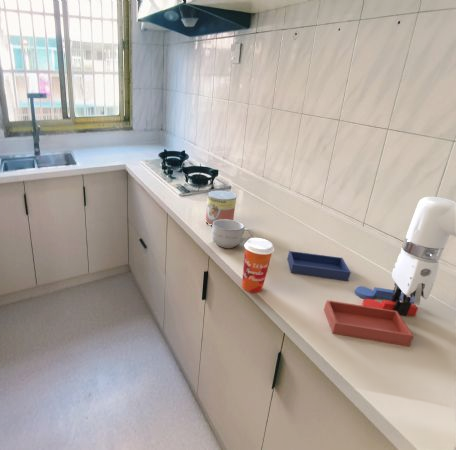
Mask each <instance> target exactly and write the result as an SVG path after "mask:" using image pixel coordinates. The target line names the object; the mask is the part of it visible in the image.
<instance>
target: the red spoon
mask: <svg viewBox="0 0 456 450" xmlns="http://www.w3.org/2000/svg"><path fill="white" fill-rule="evenodd" d="M395 303H396V302H394V301H391V300H387V299H382V301H381V302H380V301H379V300H375V299H374V298H373V299H363V301H362V303H361V306H368V307H374V308H381V309H388V310H393V308H394V306H395ZM418 309H419V308H418V305H417V304H411V306H410V309H409V311H408V313H407V315H406V316H414V317H415V316H416V315H417V312H418Z"/></svg>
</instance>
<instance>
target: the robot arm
mask: <svg viewBox="0 0 456 450" xmlns="http://www.w3.org/2000/svg"><path fill="white" fill-rule="evenodd" d="M450 236H453V237H456V201H454V200H452V199H449V198H446V197H439V196H425V197H422V198H421V199H419V200H418V203H417V205H416V207H415V210H414V213H413V216H412V218H411V221H410V224H409V226H408V229H407V232H406V235H405V238H404V240H403V243H402V246H401V248H400V249H401V250H400V252H399V255H398V256H397V258H396V261H395V263H394V265H393V268H392V272H391V278H392V280H393V282H394V287H393V289H392V290H393V294H395V295H393V296H392V298H391V300H390V301H394V302H396V303H395V306H394V308H393V310H394V311H397V312H398V313H399V315H400V316H403V317H406V316H408V315H407V313H408V311H409V309H410V306H411V304H414V305H416V306H419V305H420V304H421V298H423V299H424V300H427V299H429V297H430V296H431V293H432V290H433V287H434V284H435V281H436V278H437V274H438V270H439V261H440V259H441V257H442V255H443V253H444V249H445V247H446V245H447V243H448V241H449V237H450Z"/></svg>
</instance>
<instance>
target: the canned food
mask: <svg viewBox="0 0 456 450" xmlns="http://www.w3.org/2000/svg"><path fill="white" fill-rule="evenodd" d="M237 196H238V195H237V194H236V193H234V192H232V191H228V190H220V189H214V190H210V191H208V192H207V201H206V210H205V211H206V213H205V220H206V221H207V222H208V223H209V224H212V225H213V222H214V221H216V220H220V219H228V220H234V219H235V218H234V217H235V211H236V210H235V209H236V202H237Z"/></svg>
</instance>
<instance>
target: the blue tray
mask: <svg viewBox="0 0 456 450" xmlns="http://www.w3.org/2000/svg"><path fill="white" fill-rule="evenodd" d="M287 263H288V267H289V270H290V273H291V274H296V275H302V276H309V277H310V276H311V277H318V278H324V279H331V280H338V281H346V282H349V279H350V276H351V273H352V272H351V271H350V269H349V267H348V265H347V264H346V262H345V259H344V258H343V257H339V256H333V255H332V256H331V255H324V254H316V253H309V252H301V251H294V250H293V251H292V250H288V254H287Z"/></svg>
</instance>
